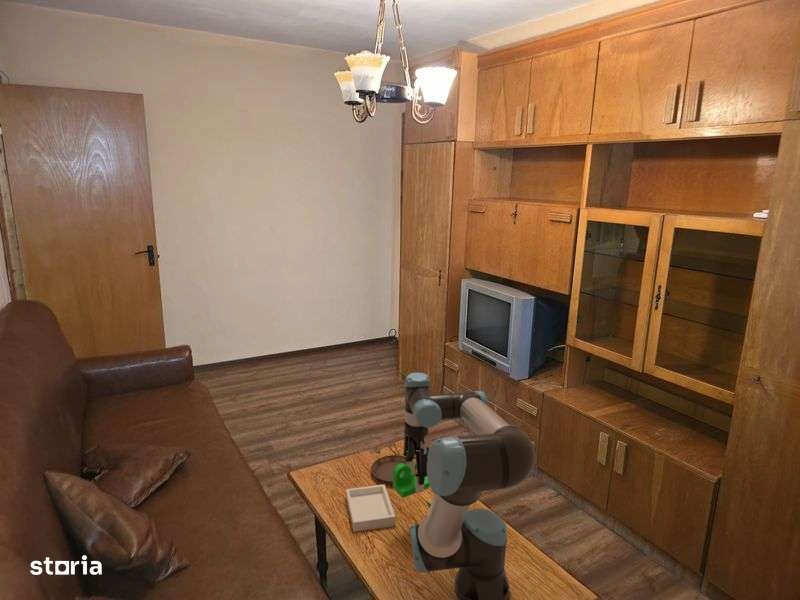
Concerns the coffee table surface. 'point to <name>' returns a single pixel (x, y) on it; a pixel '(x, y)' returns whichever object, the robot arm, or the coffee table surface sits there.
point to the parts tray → (370, 508)
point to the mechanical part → (406, 481)
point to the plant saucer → (387, 467)
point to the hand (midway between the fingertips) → (415, 485)
